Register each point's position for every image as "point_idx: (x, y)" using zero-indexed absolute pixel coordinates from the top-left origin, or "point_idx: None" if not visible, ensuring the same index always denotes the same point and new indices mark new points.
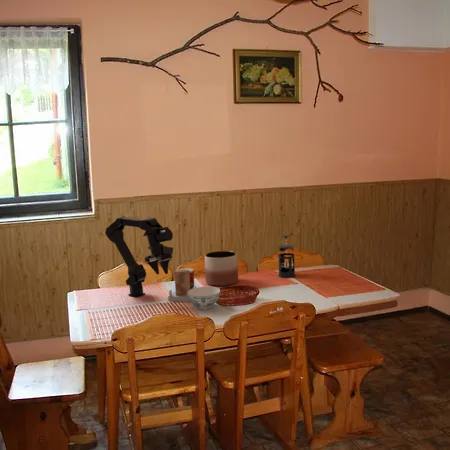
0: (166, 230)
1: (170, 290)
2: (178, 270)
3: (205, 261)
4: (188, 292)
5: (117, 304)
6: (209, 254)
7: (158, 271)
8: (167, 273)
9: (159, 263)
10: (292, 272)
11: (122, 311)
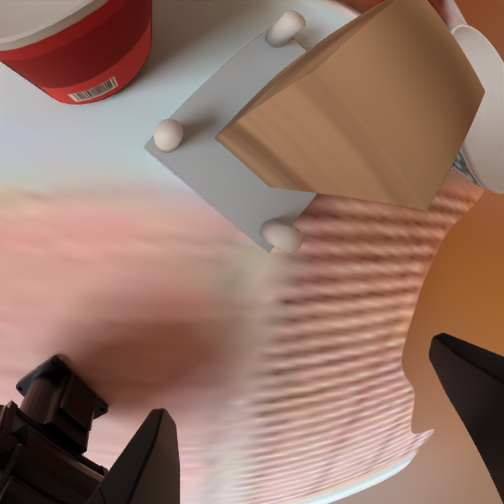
0: None
1: (294, 240)
2: (386, 100)
3: None
4: (490, 188)
5: (194, 469)
6: None
7: (161, 438)
8: (442, 336)
9: (500, 493)
10: None
11: (297, 448)
